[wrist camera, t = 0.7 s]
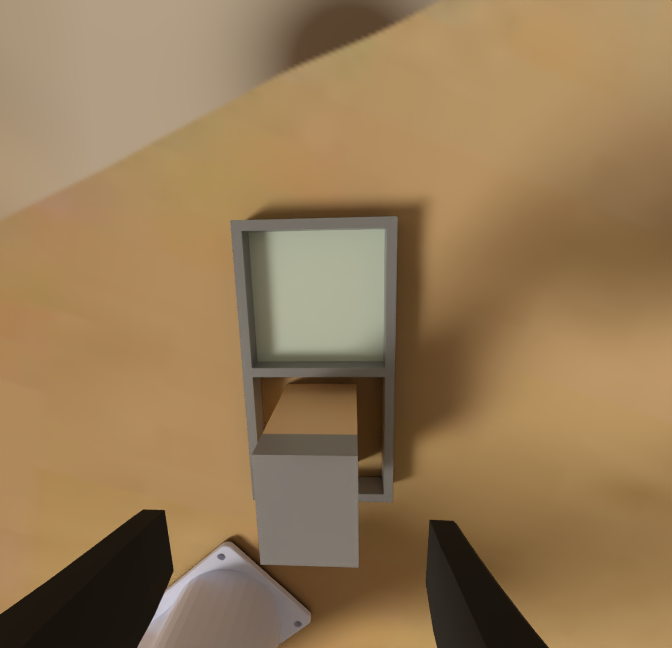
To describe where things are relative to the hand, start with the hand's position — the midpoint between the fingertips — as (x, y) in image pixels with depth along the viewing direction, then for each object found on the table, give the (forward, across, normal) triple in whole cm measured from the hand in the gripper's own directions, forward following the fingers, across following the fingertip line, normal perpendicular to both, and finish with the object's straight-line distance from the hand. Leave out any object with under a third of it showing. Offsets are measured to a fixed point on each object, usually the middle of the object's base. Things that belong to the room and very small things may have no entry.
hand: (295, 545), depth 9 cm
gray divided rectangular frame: (+11, 0, -1) cm, 11 cm away
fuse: (+11, 0, +2) cm, 11 cm away
